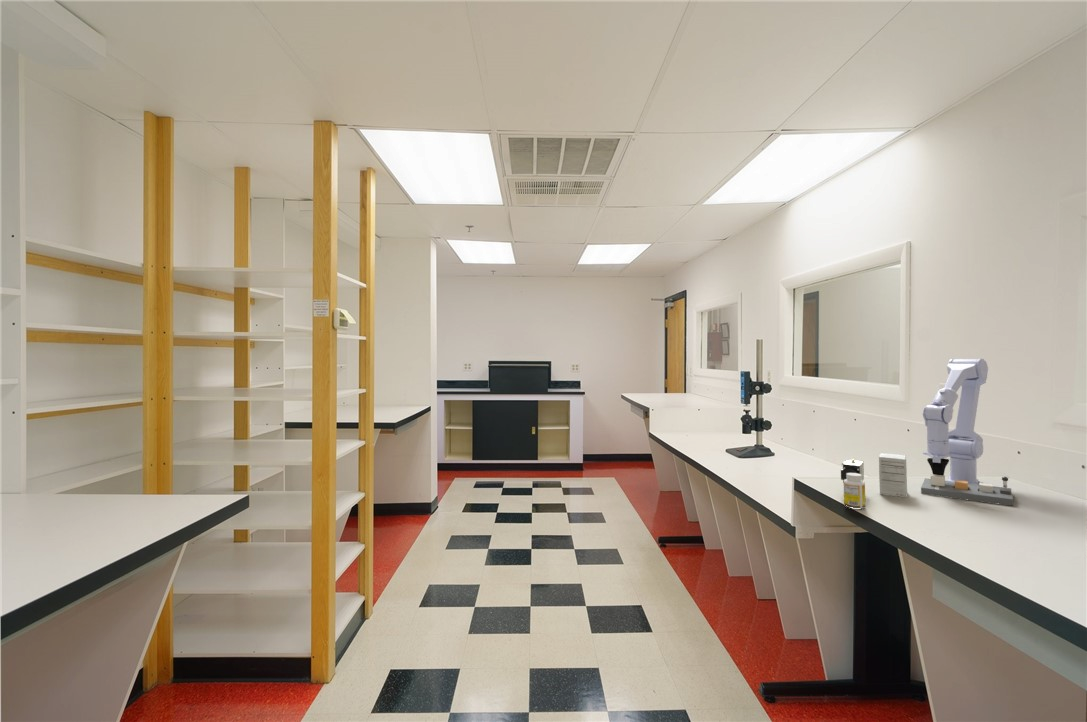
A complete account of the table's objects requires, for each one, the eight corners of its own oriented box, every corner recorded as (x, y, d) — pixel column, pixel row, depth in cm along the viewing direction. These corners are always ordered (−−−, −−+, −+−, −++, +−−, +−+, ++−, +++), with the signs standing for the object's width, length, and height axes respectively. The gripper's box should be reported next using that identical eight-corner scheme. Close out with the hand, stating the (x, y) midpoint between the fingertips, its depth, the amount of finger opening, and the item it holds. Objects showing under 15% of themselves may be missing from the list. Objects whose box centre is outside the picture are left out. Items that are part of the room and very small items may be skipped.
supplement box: (880, 489, 169) (880, 452, 168) (907, 492, 164) (906, 454, 164) (878, 494, 163) (878, 456, 163) (906, 498, 158) (906, 459, 158)
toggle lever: (1001, 487, 155) (1001, 476, 156) (1008, 488, 154) (1008, 477, 155) (1002, 486, 154) (1001, 475, 155) (1008, 487, 153) (1008, 476, 154)
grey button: (979, 490, 159) (979, 482, 159) (992, 492, 157) (992, 484, 157) (979, 492, 157) (979, 484, 157) (992, 494, 155) (992, 486, 155)
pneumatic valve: (864, 492, 165) (864, 457, 165) (859, 501, 156) (859, 463, 156) (845, 489, 169) (845, 455, 169) (839, 498, 160) (839, 461, 160)
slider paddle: (931, 482, 167) (931, 474, 166) (945, 484, 164) (944, 475, 164) (930, 484, 164) (930, 475, 164) (944, 486, 162) (944, 477, 162)
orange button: (955, 487, 163) (955, 480, 163) (968, 489, 161) (967, 481, 161) (954, 489, 161) (954, 482, 161) (967, 491, 159) (967, 483, 159)
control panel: (925, 483, 174) (925, 475, 174) (1011, 494, 159) (1010, 485, 159) (921, 493, 162) (921, 484, 162) (1013, 506, 148) (1012, 496, 148)
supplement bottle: (858, 504, 153) (857, 471, 153) (869, 510, 147) (869, 476, 147) (840, 504, 153) (839, 472, 153) (851, 510, 148) (850, 476, 147)
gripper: (924, 436, 175) (925, 474, 175) (920, 442, 164) (921, 482, 164) (950, 438, 170) (951, 477, 170) (948, 444, 159) (948, 486, 160)
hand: (938, 480), depth 167 cm, fingers closed
